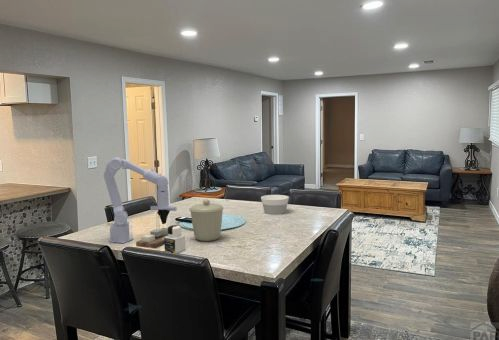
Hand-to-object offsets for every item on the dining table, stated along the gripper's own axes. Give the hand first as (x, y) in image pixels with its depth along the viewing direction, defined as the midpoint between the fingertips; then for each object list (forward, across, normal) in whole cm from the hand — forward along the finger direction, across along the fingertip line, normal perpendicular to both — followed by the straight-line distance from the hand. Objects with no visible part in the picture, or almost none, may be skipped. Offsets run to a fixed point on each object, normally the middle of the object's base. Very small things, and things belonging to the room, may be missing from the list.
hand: (164, 223), depth 209 cm
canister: (+8, +24, +2) cm, 25 cm away
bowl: (+8, +45, +72) cm, 86 cm away
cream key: (+6, -2, -14) cm, 15 cm away
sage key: (+6, 0, 0) cm, 7 cm away
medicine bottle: (+8, +16, -20) cm, 27 cm away
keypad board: (+8, +1, -7) cm, 10 cm away
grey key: (+6, -1, -7) cm, 9 cm away
